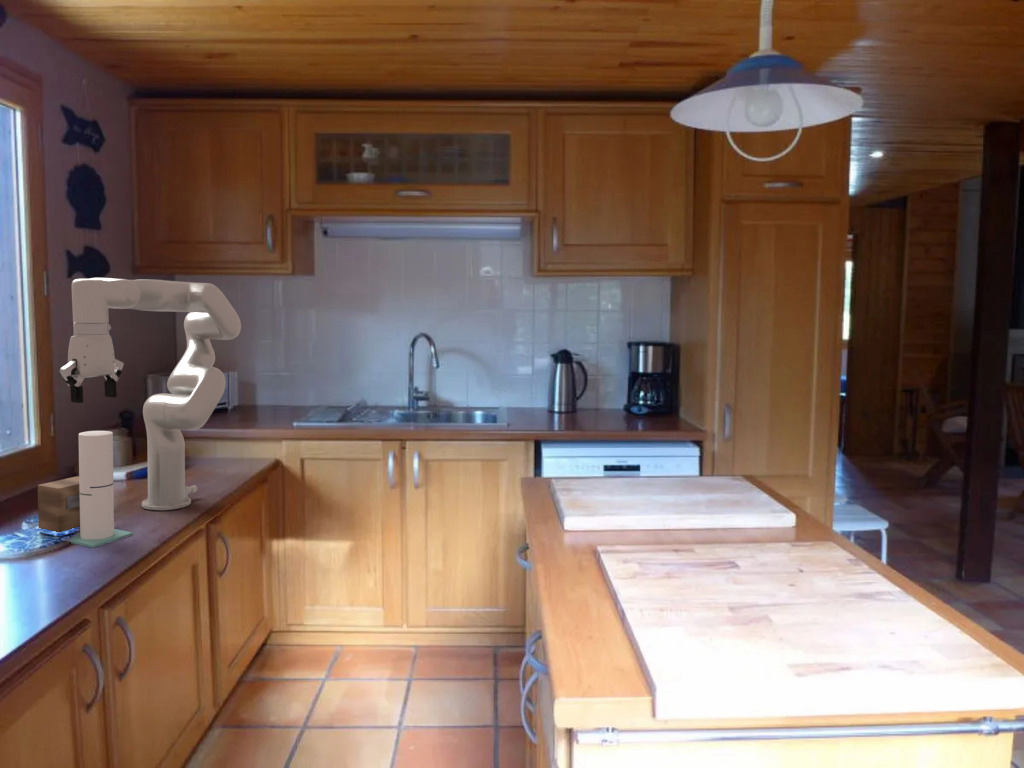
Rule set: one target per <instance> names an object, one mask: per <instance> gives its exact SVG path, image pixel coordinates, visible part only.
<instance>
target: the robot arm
mask: <svg viewBox="0 0 1024 768" xmlns="http://www.w3.org/2000/svg"><path fill="white" fill-rule="evenodd" d="M71 304H72V305H71V306H72V324H73V325H72V326H73V335H72V336H70V339H69V343H68V348H67V349H68V351H67V363H66V364H65V365H63V366H62V367H60V369H59V373H60V374H61V377H62V379H63V381H64V382H65V383H66V384H67V386H68V387H69V389H70V401H71V403H75V404H77V403H78V404H82V403H83V402H84V387H83V386H82V383H83V381H84V380H85V378H88V379H89V378H96V377H97V378H98V377H104V379H105V380H104V383H103V385H104V386H103V387H104V396H105V397H107V398H117V396H118V394H117V393H118V392H117V382H118V381H119V377H120V376H121V375H122V370H123V367H124V365H125V364H124V363H125V362H123V361H121V360H118V358H117V359H116V357H115V356H116V355H115V350H114V344H113V340H112V336H111V335H110V330H111V329H112V325H111V324H109V322H110V321H109V309H118V310H126V309H130V310H137V311H143V312H144V311H147V312H173V313H174V312H175V313H176V312H177V313H187V314H186V315H185V317H184V322H183V328H184V332H185V337H186V350H185V351H184V354H183V355H182V357H181V358H180V359H179V361H178V362H177V364H176V365H175V367H174V369H173V370H172V372H171V373H170V374H169V377H168V378H167V383H166V387H167V390H168V391H169V393H165V392H164V393H155V394H153V395H151V396H149V397H148V398H147V399H146V400H145V402H144V404H143V408H142V415H143V421H144V424H145V430H146V438H147V439H146V440H147V446H146V447H147V498H146V499H144V500H142V501H141V507H142V508H143V509H146V510H150V511H169V510H170V511H171V510H177V509H182V508H186V507H188V506H189V505H190V504H192V499H191V497H189V496H188V495H190V494H192V493H196V492H197V491H198V487H197V485H194V484H193V485H190V486H187V485H186V483H185V482H186V469H185V468H186V462H185V461H186V454H185V453H186V451H185V450H186V443H185V438H184V435H183V433H182V431H181V430H183V431H197V430H199V429H201V428H203V427H204V425H205V424H206V423H207V422H208V420H209V419H210V417H211V416H212V414H213V412H214V411H215V409H216V408H217V406H218V404H219V402H220V401H221V398H222V397H223V395H224V392H225V389H226V377H225V374H224V373H223V371H222V370H221V369H219V368H218V367H214V364H215V361H216V355H215V350H214V348H213V345H212V343H211V340H219V341H220V340H223V341H230V340H233V339H235V338H237V337H238V336H239V335H240V333H241V331H242V323H241V322H242V321H241V319H240V317H239V315H238V313H237V312H236V310H235V308H234V307H233V306H232V304H231V303H230V301H229V300H228V298H227V297H226V295H225V294H224V293H223V292H222V290H220V288H218V287H217V286H216V285H215V284H213V283H210V282H192V281H191V282H190V281H176V280H164V279H126V278H114V277H113V278H112V277H91V278H76V279H74V280H72V283H71Z"/></svg>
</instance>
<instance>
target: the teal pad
mask: <svg viewBox="0 0 1024 768" xmlns="http://www.w3.org/2000/svg"><path fill="white" fill-rule="evenodd" d="M132 534H133V535H134V532H133V531H127V530H122V529H117V528H114V535H112V536H110V537H107V538H103V539H95V540H88V539H82V538H81V537H80V533H79V534H78V535H76V536H75V537H73V538H72V539H70V540H69V541H70V542H71V543H70V544H74V545H79V546H83V547H89V548H93V549H94V548H97V547H100V546H103V545H105V543H106V544H109V543H112V542H115V541H118V539H119V540H121V539H120V538H122V539H124V538H123V537H125V538H127V537H126V536H128V537H130V536H129V535H131V536H133V535H132ZM111 541H112V542H111ZM108 542H109V543H108Z"/></svg>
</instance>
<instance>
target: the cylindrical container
mask: <svg viewBox="0 0 1024 768" xmlns="http://www.w3.org/2000/svg"><path fill="white" fill-rule="evenodd" d="M78 472H79V473H78V476H79V489H80V531H79V532H80V537H81V538H82V539H88V540H95V539H103V538H107V537H110V536H112V535H114V529H115V506H114V503H115V501H114V500H115V499H114V496H115V495H114V490H115V489H114V433H113V431H110V430H87V431H83V432H79V433H78Z"/></svg>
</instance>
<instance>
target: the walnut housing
mask: <svg viewBox="0 0 1024 768" xmlns="http://www.w3.org/2000/svg"><path fill="white" fill-rule="evenodd" d="M37 506H38V508H37V509H38V510H37V511H38V514H37V515H38V519H37V520H38V529H39V528H41V529H48V530H51V531H56V532H62V531H65V530H69V529H72V528H76V527H80V489H79V475H77V476H73V477H68V478H64V479H59V480H54V481H49V482H45V483H40V484H37Z"/></svg>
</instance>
